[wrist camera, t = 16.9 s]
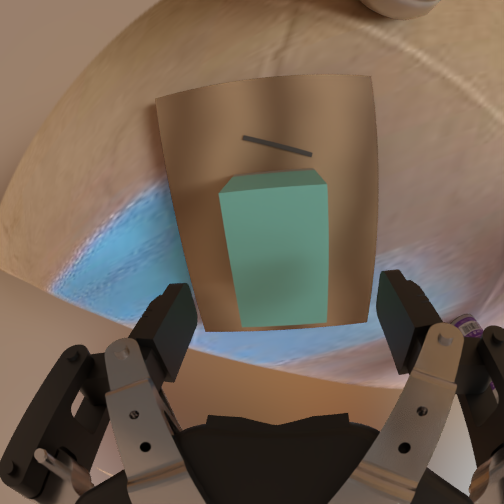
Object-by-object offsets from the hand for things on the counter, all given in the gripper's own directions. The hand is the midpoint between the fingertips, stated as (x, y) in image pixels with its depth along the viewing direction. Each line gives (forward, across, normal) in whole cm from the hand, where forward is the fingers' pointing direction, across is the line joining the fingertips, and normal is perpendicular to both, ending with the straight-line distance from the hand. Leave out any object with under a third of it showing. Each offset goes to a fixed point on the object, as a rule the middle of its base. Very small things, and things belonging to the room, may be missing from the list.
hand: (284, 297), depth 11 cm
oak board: (+10, 0, 0) cm, 10 cm away
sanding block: (+8, 0, 0) cm, 8 cm away
